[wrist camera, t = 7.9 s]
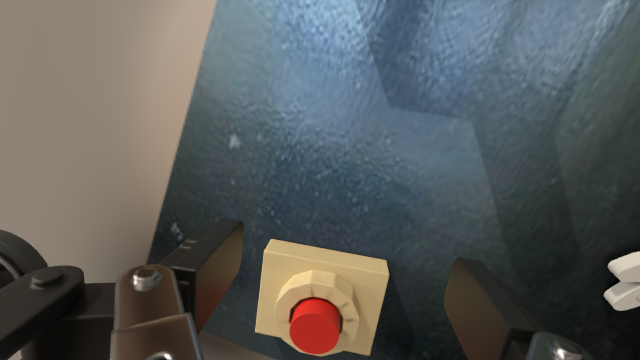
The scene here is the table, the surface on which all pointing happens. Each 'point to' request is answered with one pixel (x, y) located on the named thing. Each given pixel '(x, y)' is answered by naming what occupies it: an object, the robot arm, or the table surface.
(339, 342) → the button box
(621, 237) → the table surface
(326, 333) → the red button
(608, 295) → the game controller
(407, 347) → the table surface
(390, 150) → the table surface
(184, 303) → the robot arm
